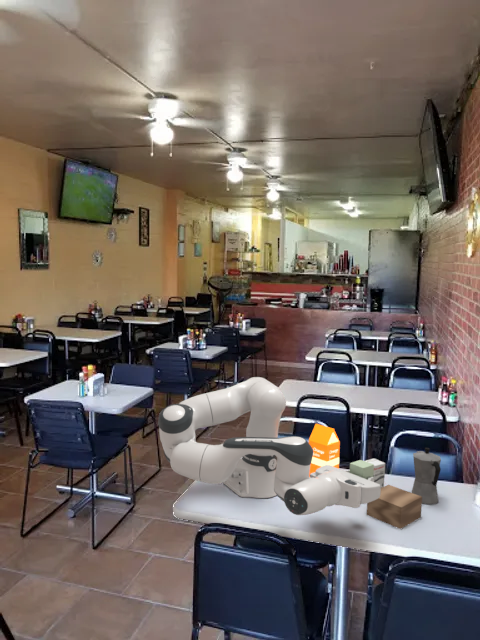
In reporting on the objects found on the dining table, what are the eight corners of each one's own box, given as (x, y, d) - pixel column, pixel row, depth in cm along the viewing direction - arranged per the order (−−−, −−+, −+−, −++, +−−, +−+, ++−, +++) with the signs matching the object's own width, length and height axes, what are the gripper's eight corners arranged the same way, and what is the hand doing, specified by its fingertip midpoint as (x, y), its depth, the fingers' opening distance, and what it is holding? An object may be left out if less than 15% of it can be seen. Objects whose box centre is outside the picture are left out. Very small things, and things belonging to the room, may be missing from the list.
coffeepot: (403, 491, 180) (405, 441, 179) (428, 490, 181) (431, 441, 180) (423, 511, 165) (426, 457, 163) (450, 510, 166) (453, 456, 164)
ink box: (367, 500, 172) (368, 466, 171) (356, 495, 176) (357, 462, 175) (384, 495, 176) (385, 462, 176) (373, 490, 181) (374, 457, 180)
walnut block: (366, 515, 162) (367, 494, 161) (387, 504, 169) (388, 484, 169) (400, 529, 153) (401, 507, 152) (420, 518, 160) (422, 496, 160)
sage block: (348, 495, 153) (349, 463, 153) (359, 491, 157) (360, 459, 156) (362, 501, 150) (363, 468, 149) (372, 496, 153) (373, 464, 152)
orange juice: (320, 472, 196) (321, 421, 195) (338, 479, 190) (340, 427, 188) (307, 477, 191) (308, 425, 189) (325, 484, 184) (327, 430, 183)
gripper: (306, 486, 153) (336, 475, 161) (361, 510, 137) (391, 497, 146) (306, 465, 152) (336, 456, 161) (362, 488, 136) (392, 476, 145)
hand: (363, 475), depth 153 cm, fingers closed on sage block, 5 cm apart
